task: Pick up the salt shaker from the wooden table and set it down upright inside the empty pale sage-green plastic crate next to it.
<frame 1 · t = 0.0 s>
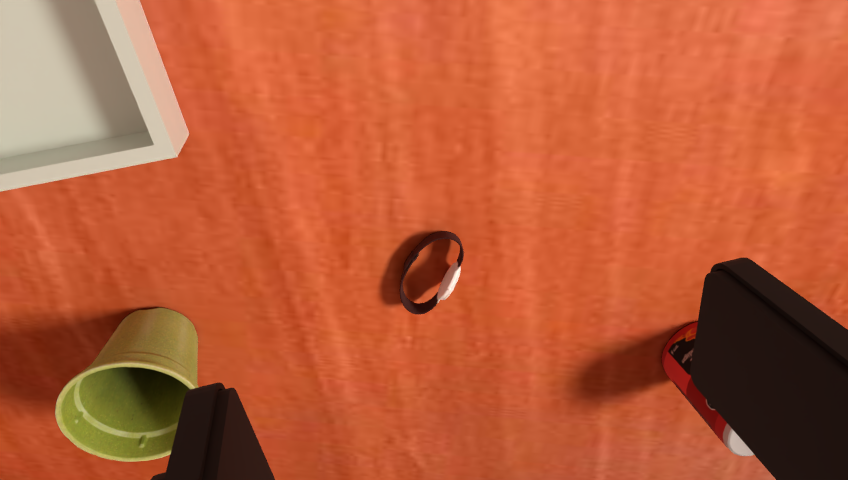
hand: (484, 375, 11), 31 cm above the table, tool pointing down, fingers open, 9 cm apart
watch: (427, 262, 47), on the table
plant pot: (160, 334, 45), on the table
crate: (6, 33, 33), on the table
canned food: (690, 346, 59), on the table
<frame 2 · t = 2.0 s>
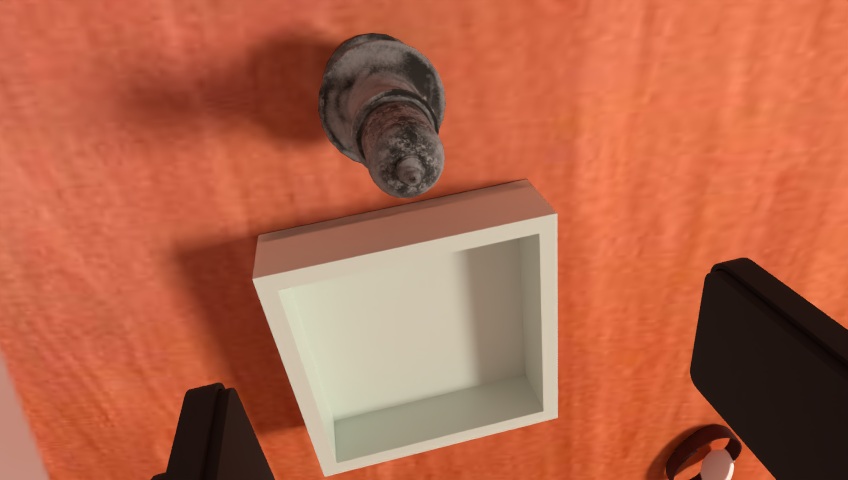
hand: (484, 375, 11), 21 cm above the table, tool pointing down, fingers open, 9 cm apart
watch: (691, 446, 50), on the table
salt shaker: (374, 86, 28), on the table
crate: (415, 312, 36), on the table
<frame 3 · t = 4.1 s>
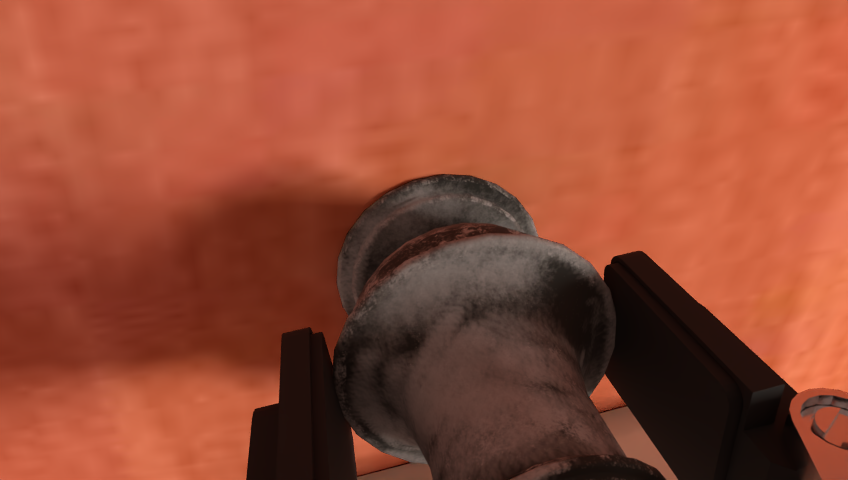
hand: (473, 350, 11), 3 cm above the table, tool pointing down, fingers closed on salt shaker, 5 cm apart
salt shaker: (438, 266, 14), on the table, touching gripper
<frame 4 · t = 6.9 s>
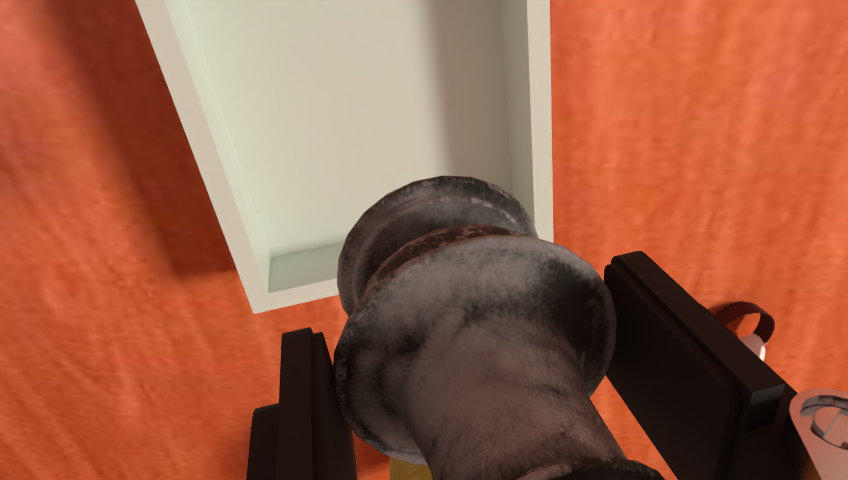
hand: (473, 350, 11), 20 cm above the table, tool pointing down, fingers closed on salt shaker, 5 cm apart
watch: (712, 333, 43), on the table
plant pot: (429, 418, 41), on the table
salt shaker: (439, 267, 14), point 16 cm above the table, touching gripper
crate: (369, 105, 28), on the table
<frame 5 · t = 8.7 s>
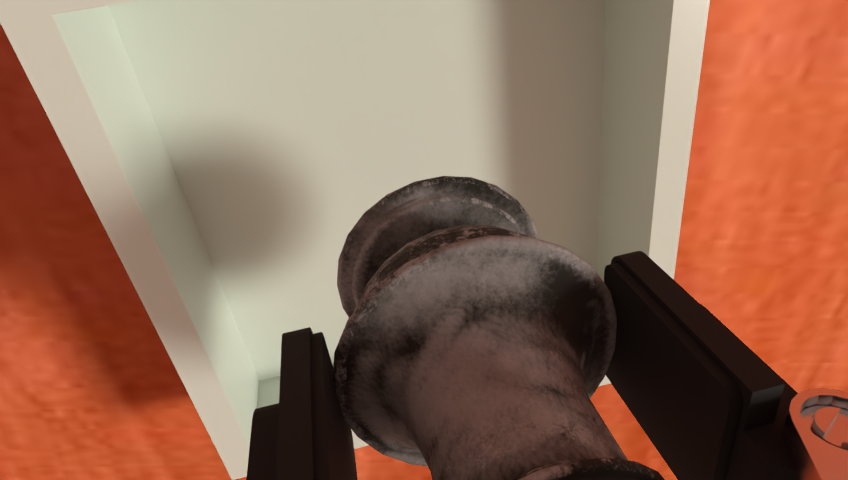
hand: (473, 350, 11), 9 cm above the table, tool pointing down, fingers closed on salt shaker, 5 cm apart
salt shaker: (439, 267, 14), point 6 cm above the table, touching gripper
crate: (401, 172, 19), on the table
when the fingers open (5 cm above the table, at t = 10.0 s): salt shaker drops 1 cm, resting on crate.
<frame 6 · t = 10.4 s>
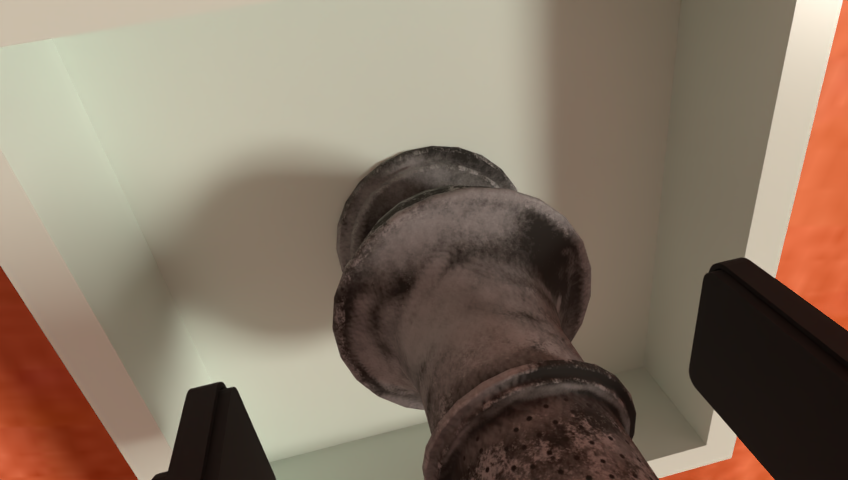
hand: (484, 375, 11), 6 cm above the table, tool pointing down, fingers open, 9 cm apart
salt shaker: (431, 234, 15), point 1 cm above the table, touching crate
crate: (422, 226, 16), on the table
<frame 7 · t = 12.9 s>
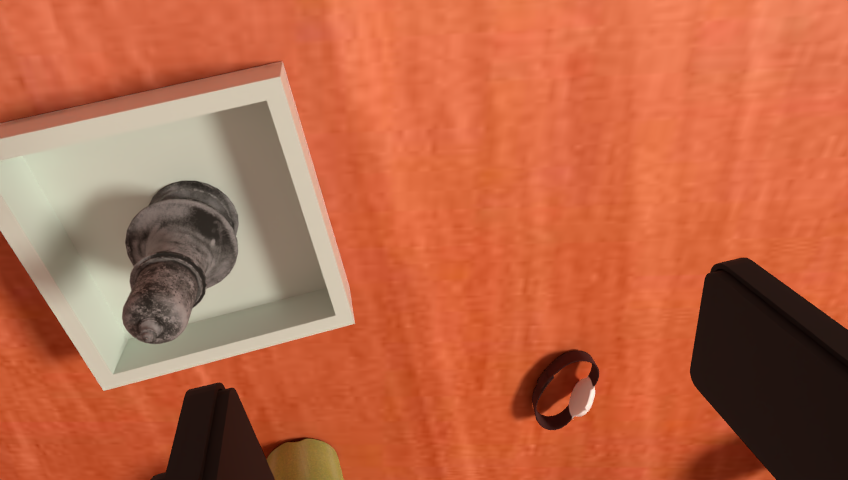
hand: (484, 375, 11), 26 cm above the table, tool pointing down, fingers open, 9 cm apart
watch: (556, 377, 48), on the table
plant pot: (302, 460, 47), on the table
salt shaker: (194, 219, 34), point 1 cm above the table, touching crate
crate: (195, 216, 35), on the table
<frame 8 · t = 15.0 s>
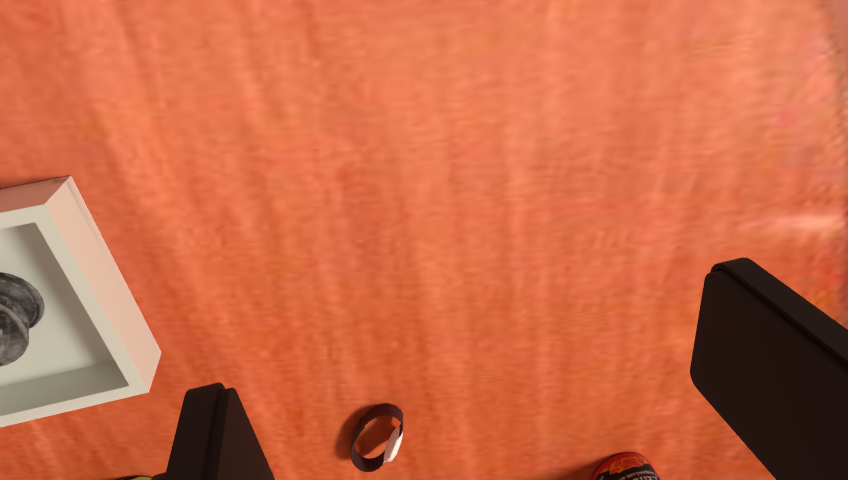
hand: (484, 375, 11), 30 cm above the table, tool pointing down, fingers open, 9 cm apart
watch: (375, 425, 54), on the table
salt shaker: (3, 301, 39), point 1 cm above the table, touching crate
crate: (8, 297, 40), on the table
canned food: (618, 471, 66), on the table
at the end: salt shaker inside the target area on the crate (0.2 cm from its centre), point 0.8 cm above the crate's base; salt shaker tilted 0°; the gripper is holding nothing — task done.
